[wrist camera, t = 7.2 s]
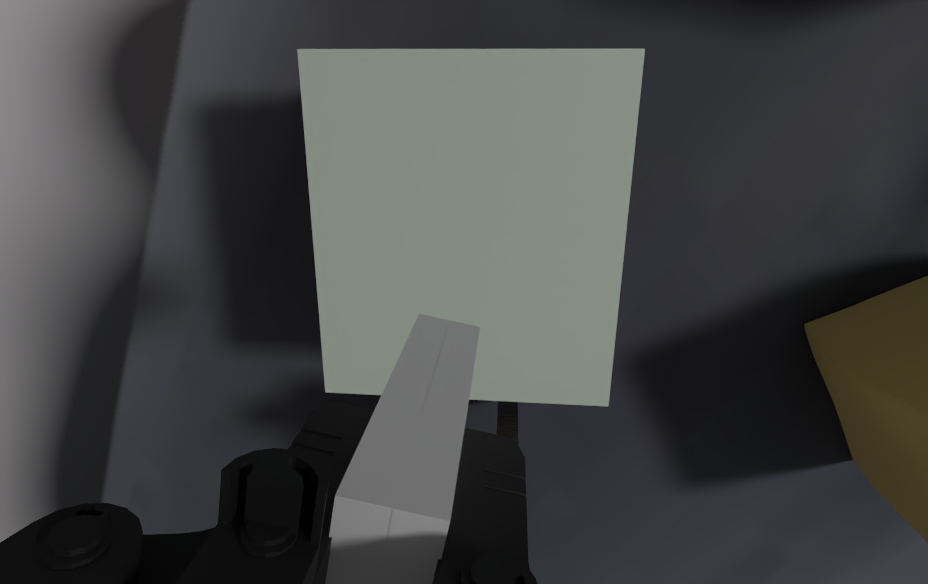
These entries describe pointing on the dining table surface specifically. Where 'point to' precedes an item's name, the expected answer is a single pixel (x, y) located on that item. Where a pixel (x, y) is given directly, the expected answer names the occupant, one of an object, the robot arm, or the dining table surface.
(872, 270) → the dining table surface
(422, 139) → the lid
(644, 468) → the dining table surface
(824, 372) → the cheese
